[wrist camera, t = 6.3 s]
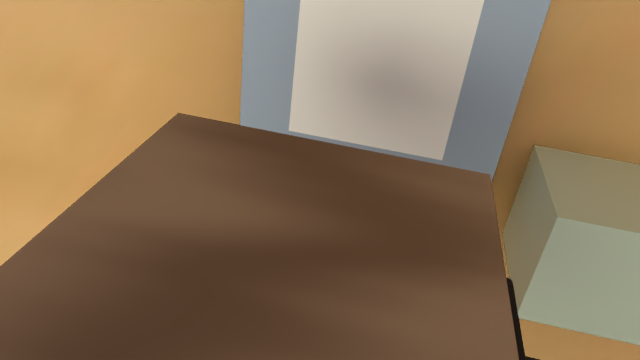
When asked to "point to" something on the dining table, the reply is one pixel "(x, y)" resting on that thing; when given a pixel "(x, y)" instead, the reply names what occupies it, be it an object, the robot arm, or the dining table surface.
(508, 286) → the robot arm
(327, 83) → the blueprint board
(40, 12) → the dining table surface
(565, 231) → the green block
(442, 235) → the walnut block
